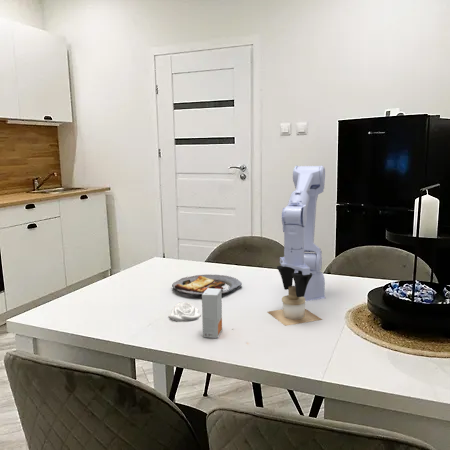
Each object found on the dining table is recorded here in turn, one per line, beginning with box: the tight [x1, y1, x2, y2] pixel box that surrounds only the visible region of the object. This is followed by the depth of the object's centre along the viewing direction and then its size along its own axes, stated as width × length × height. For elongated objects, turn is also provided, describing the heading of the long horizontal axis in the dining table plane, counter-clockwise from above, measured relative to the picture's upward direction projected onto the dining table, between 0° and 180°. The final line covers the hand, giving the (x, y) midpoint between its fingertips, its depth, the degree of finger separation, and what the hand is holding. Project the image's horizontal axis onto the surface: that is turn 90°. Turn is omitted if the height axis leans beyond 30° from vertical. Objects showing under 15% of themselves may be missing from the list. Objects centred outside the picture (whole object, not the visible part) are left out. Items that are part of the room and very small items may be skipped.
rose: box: [168, 302, 202, 322], centre depth 137 cm, size 10×4×10 cm
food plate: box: [171, 274, 243, 296], centre depth 164 cm, size 25×23×4 cm
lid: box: [281, 285, 306, 305], centre depth 133 cm, size 7×7×4 cm
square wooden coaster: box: [267, 308, 323, 327], centre depth 134 cm, size 12×12×1 cm
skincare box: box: [201, 288, 223, 339], centre depth 123 cm, size 6×4×12 cm
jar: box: [282, 302, 306, 319], centre depth 134 cm, size 6×6×4 cm
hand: (294, 292), depth 133 cm, fingers open, 7 cm apart
